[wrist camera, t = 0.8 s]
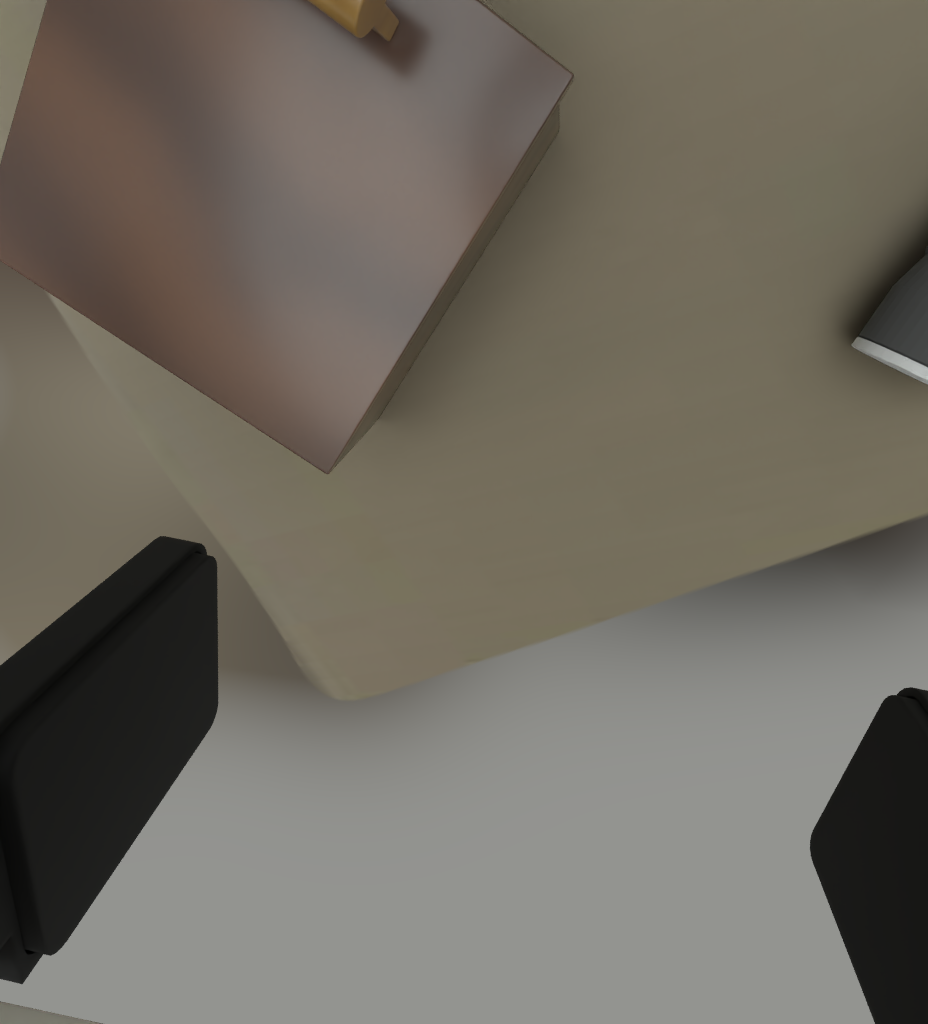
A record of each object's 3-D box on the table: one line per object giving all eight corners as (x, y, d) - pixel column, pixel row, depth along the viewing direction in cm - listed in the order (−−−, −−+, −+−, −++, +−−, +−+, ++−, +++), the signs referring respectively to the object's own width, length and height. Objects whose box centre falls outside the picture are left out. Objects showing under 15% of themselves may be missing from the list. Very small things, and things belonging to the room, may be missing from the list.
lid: (140, -260, 21) (21, -395, 16) (574, 79, 23) (578, 44, 18) (-9, 245, 28) (-121, 250, 23) (333, 469, 30) (292, 514, 25)
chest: (240, -116, 28) (132, -229, 21) (560, 129, 30) (560, 102, 23) (108, 239, 35) (-8, 244, 28) (377, 420, 37) (333, 468, 30)
